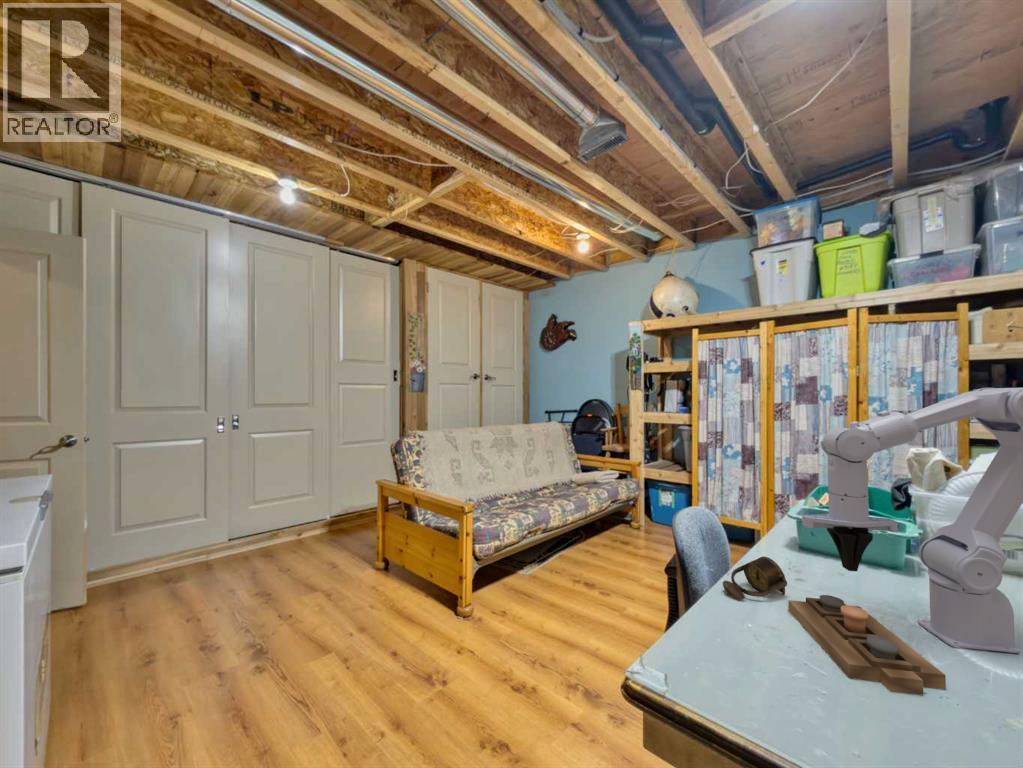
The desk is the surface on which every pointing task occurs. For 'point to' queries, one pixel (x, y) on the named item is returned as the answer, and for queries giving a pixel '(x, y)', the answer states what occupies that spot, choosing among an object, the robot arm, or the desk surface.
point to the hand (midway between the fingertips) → (849, 569)
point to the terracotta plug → (854, 619)
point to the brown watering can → (758, 579)
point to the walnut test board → (866, 650)
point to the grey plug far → (831, 603)
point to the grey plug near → (882, 647)
